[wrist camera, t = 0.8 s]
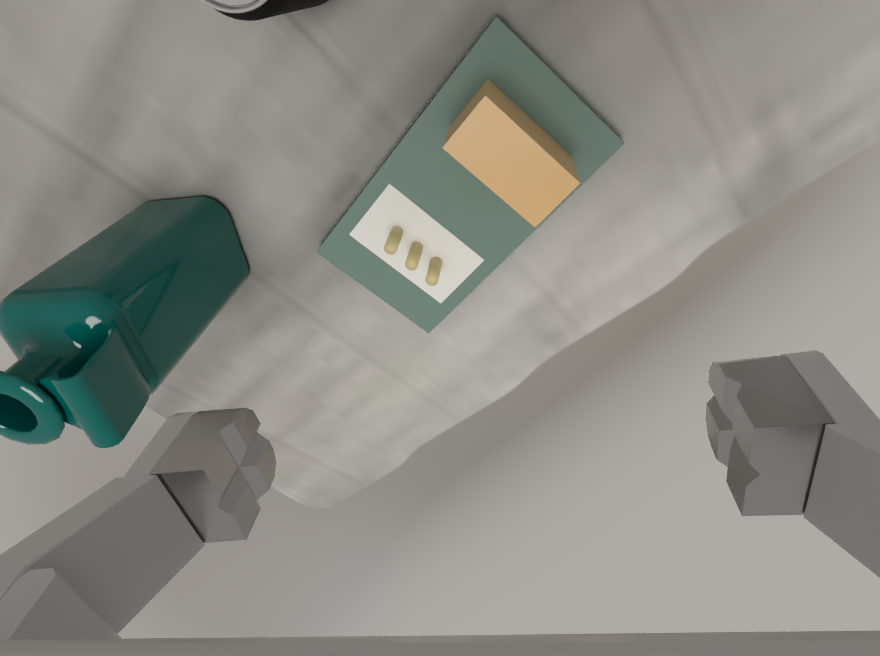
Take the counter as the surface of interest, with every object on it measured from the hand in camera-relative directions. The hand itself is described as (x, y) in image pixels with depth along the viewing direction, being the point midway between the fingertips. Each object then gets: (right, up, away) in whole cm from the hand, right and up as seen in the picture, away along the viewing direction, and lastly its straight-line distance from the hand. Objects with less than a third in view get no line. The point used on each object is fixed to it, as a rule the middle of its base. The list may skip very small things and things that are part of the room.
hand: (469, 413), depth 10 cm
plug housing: (+5, +15, +29) cm, 33 cm away
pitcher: (-21, +9, +38) cm, 44 cm away
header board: (+1, +12, +33) cm, 35 cm away
